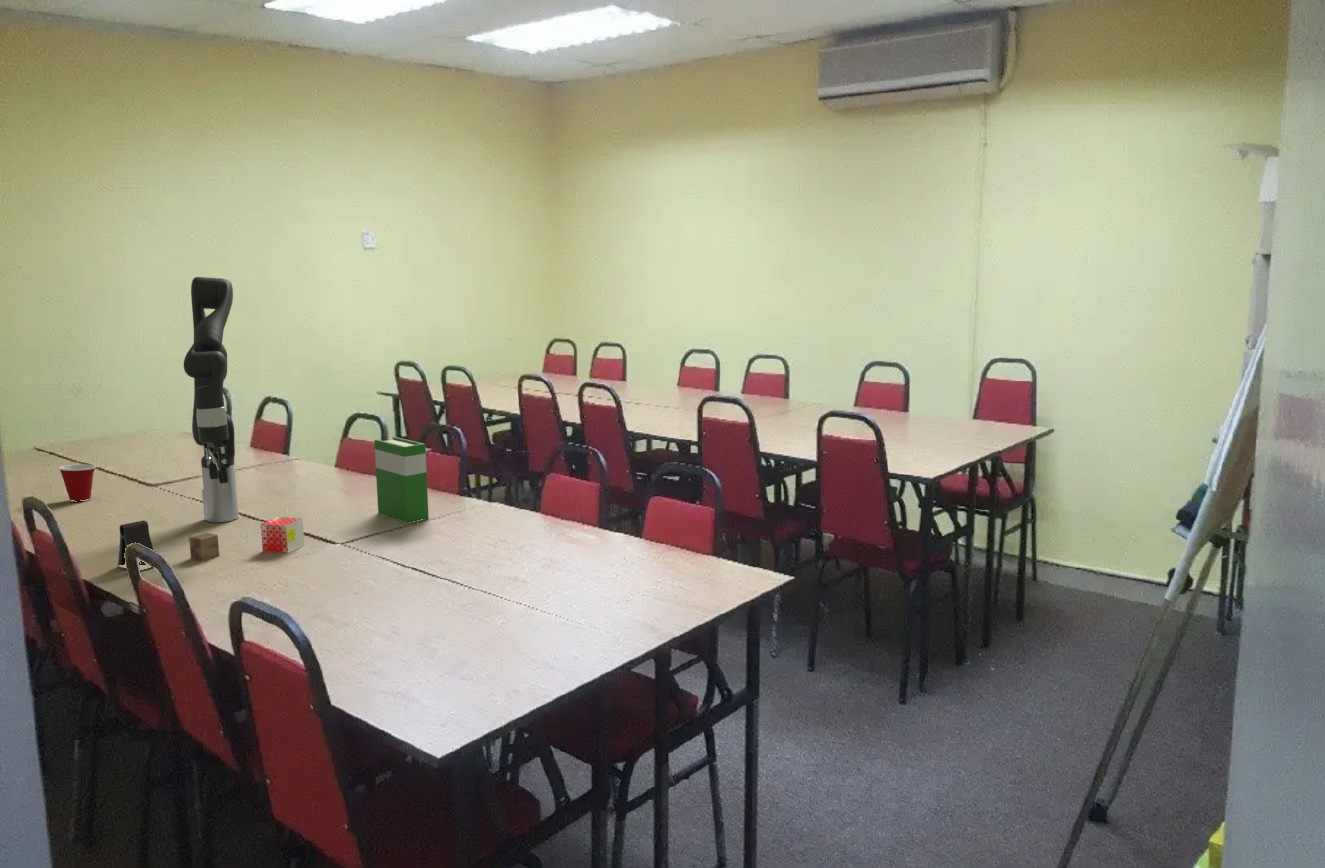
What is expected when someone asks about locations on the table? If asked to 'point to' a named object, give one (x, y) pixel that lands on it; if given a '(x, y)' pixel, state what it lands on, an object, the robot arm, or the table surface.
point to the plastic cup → (78, 480)
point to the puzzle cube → (282, 534)
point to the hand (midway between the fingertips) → (219, 481)
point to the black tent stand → (133, 537)
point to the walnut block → (204, 546)
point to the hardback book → (401, 479)
